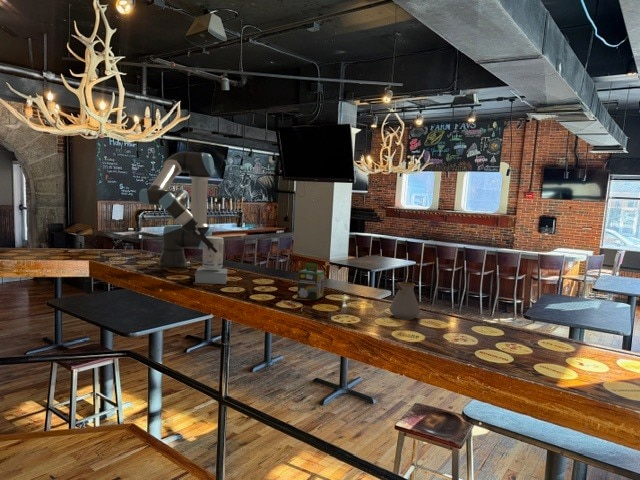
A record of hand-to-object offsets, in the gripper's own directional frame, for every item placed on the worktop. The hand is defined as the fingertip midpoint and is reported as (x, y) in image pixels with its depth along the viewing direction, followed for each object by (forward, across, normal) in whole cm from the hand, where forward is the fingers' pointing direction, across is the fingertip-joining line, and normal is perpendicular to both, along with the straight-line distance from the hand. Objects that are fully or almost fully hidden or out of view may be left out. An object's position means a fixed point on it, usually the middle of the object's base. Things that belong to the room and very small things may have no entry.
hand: (219, 255), depth 212 cm
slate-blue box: (+6, 0, -11) cm, 13 cm away
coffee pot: (+48, +77, +31) cm, 96 cm away
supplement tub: (+2, 0, -7) cm, 7 cm away
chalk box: (+33, +38, +16) cm, 53 cm away
